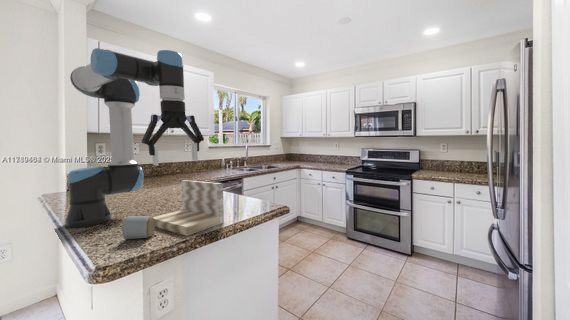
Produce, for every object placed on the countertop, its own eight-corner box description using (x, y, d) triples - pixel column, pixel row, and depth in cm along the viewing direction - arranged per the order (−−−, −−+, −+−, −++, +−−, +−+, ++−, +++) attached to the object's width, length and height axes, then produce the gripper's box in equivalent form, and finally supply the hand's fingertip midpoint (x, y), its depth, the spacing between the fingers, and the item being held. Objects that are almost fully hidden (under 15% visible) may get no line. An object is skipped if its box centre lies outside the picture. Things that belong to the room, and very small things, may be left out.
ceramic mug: (149, 240, 80) (148, 217, 80) (122, 242, 79) (121, 219, 79) (159, 230, 91) (158, 210, 91) (135, 232, 89) (134, 211, 89)
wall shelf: (149, 225, 97) (147, 185, 96) (187, 214, 111) (185, 180, 110) (187, 235, 84) (185, 189, 83) (224, 222, 98) (222, 183, 97)
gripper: (134, 96, 70) (140, 168, 73) (211, 102, 88) (214, 160, 91) (126, 98, 75) (132, 165, 78) (201, 103, 93) (203, 158, 96)
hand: (176, 162), depth 85 cm, fingers open, 13 cm apart
